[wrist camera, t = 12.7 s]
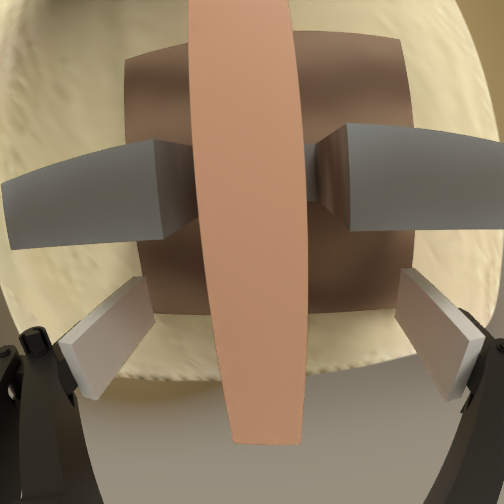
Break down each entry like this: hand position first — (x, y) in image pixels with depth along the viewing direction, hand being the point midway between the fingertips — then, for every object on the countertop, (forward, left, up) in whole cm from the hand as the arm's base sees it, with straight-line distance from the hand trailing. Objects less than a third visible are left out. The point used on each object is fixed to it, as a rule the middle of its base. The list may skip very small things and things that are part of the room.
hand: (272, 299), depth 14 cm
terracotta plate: (-6, 0, -6) cm, 8 cm away
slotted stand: (-6, 0, -7) cm, 9 cm away
